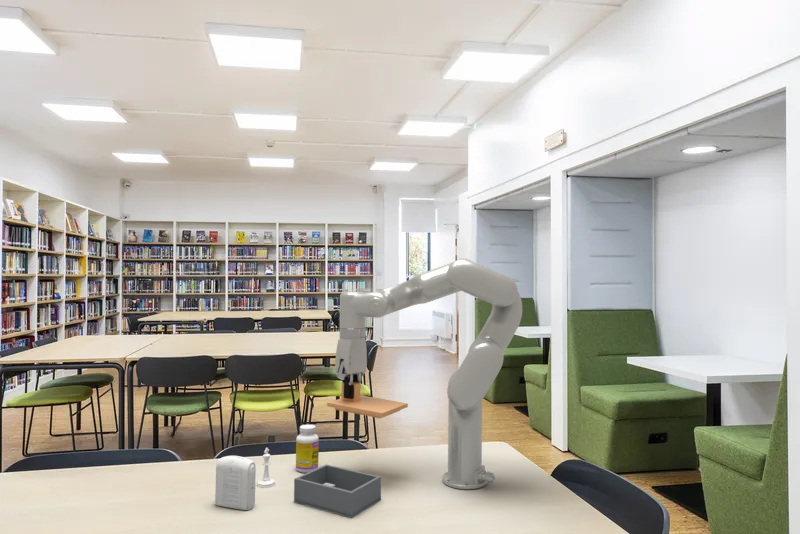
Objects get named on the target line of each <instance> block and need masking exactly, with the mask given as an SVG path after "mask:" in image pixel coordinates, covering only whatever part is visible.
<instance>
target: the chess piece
mask: <svg viewBox="0 0 800 534" xmlns="http://www.w3.org/2000/svg"><path fill="white" fill-rule="evenodd" d="M269 451H270V449H269V447H265V450H264V451H263V453H264V454H263V455H262V458H263V461H264V462H262V465H263V466H264V467H263V468H264V470H263V476H262V478H261V479H259V480H258V481H257V482H256V483H257V484H256V485H257V486H258V487H259V488H270V486H271V487H273V486H275V485H276V480H275V479H274V478H272V477H270V471H269V469H270V468H269V466H270V465H271V462H270V458H271V454H270V453H269Z"/></svg>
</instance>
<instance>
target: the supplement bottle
mask: <svg viewBox="0 0 800 534" xmlns="http://www.w3.org/2000/svg"><path fill="white" fill-rule="evenodd" d="M316 431H317V429H316V425H314V424H302V425H300V426H299V434H298V435H297V436H296V440H295V441H296V442H295V446H296V447H295V470H296V471H297V472H299V473H303V474H306V473H308V472H310V471H312V470H315V469H317V468H319V444H320V443H319V442H320V438H319V436H318V434H316Z"/></svg>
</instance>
